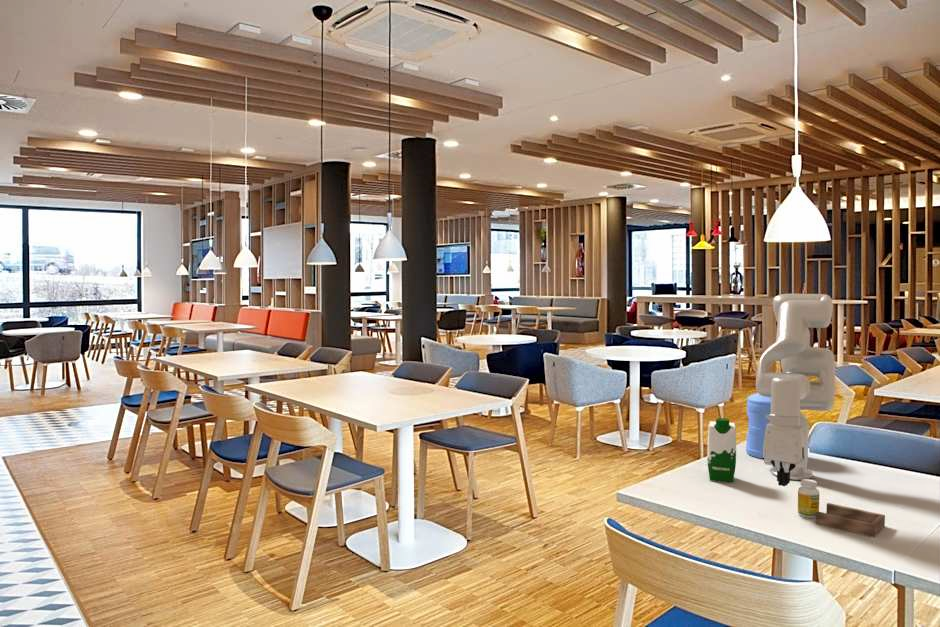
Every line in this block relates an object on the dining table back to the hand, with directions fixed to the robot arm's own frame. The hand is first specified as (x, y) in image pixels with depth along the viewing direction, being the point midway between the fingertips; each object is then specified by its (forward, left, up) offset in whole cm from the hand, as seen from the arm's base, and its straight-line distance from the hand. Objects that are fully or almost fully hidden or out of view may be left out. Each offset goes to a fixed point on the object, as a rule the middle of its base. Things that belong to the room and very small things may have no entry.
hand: (783, 484), depth 197 cm
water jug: (-25, +56, -7) cm, 62 cm away
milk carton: (-25, +16, -7) cm, 31 cm away
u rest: (+17, 0, -7) cm, 19 cm away
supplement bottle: (+7, 0, -7) cm, 10 cm away
